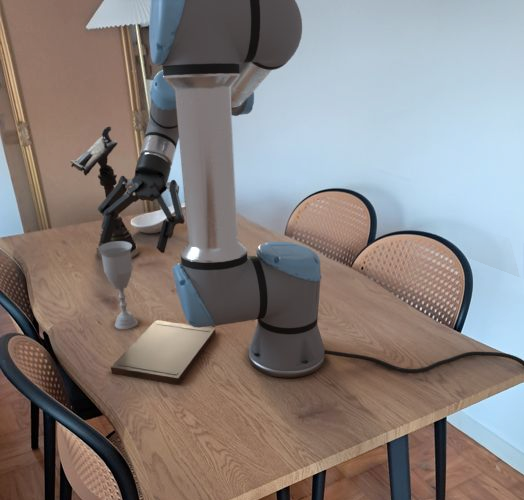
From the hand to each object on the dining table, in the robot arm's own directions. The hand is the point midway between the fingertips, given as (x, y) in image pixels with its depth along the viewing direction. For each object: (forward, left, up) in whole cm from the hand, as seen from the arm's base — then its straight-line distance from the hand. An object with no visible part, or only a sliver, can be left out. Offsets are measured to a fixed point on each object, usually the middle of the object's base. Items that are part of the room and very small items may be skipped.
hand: (132, 247), depth 121 cm
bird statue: (+24, -29, -16) cm, 41 cm away
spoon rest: (+18, -56, -16) cm, 61 cm away
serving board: (-14, +16, -16) cm, 26 cm away
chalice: (0, +7, -16) cm, 17 cm away
